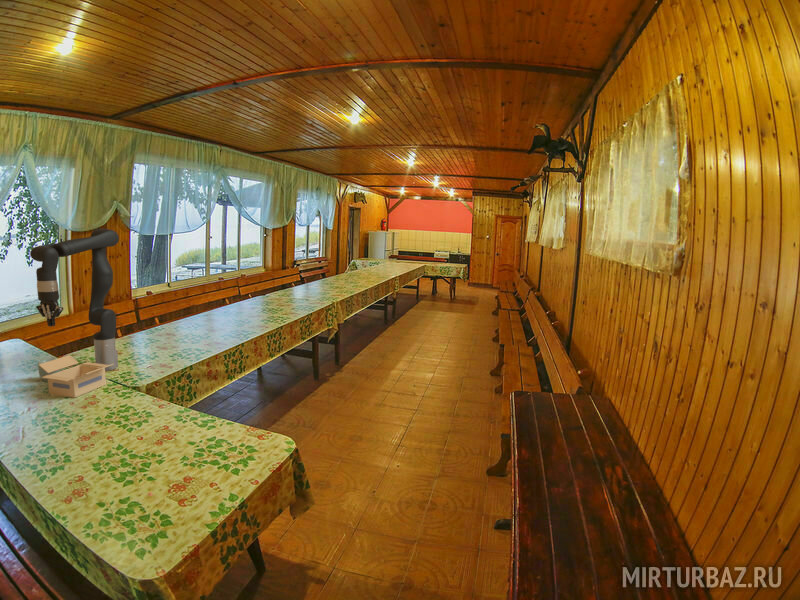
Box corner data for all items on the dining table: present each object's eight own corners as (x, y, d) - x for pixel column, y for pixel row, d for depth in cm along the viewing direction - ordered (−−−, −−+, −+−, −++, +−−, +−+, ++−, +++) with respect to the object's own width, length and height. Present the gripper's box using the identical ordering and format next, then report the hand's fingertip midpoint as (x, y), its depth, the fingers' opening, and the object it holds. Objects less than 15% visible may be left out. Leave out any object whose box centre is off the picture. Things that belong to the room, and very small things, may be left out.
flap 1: (78, 362, 202) (78, 363, 203) (69, 355, 203) (69, 355, 203) (48, 372, 188) (47, 373, 188) (38, 364, 188) (38, 364, 188)
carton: (87, 379, 208) (86, 361, 206) (111, 383, 205) (110, 365, 204) (42, 396, 186) (40, 377, 184) (68, 400, 184) (66, 380, 182)
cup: (48, 384, 200) (46, 364, 198) (35, 382, 201) (33, 362, 200) (64, 378, 207) (63, 359, 206) (51, 376, 209) (50, 357, 207)
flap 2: (75, 376, 186) (75, 377, 186) (85, 373, 184) (86, 374, 184) (104, 366, 200) (104, 367, 200) (113, 363, 199) (114, 364, 199)
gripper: (67, 289, 194) (71, 325, 197) (44, 287, 196) (47, 323, 199) (52, 292, 186) (55, 329, 190) (27, 289, 189) (31, 326, 192)
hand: (51, 326), depth 194 cm, fingers closed
